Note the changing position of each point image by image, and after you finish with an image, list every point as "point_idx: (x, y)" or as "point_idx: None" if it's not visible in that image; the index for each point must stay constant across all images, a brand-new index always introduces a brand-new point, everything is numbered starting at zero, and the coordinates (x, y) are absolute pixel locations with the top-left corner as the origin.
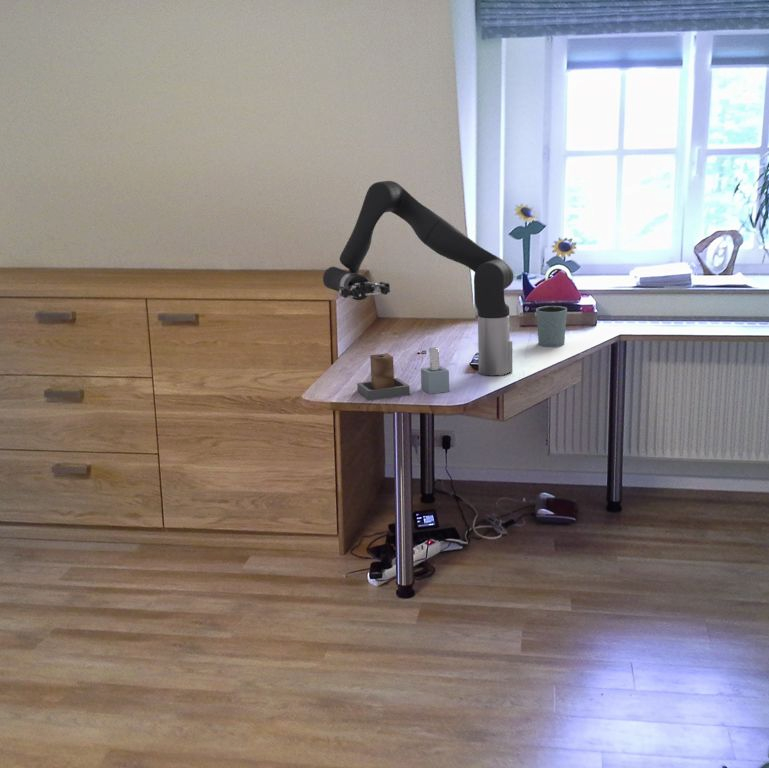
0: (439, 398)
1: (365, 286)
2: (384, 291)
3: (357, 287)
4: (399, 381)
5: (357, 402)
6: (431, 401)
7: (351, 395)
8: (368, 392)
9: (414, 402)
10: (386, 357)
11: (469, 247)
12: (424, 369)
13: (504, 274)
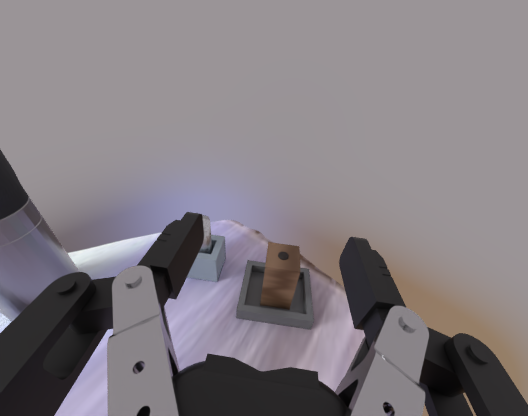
0: (227, 240)
1: (254, 376)
2: (199, 235)
3: (345, 409)
4: (246, 287)
5: (322, 277)
6: (241, 237)
7: (324, 313)
8: (308, 269)
9: (259, 243)
10: (279, 244)
11: None
12: (215, 252)
13: None
